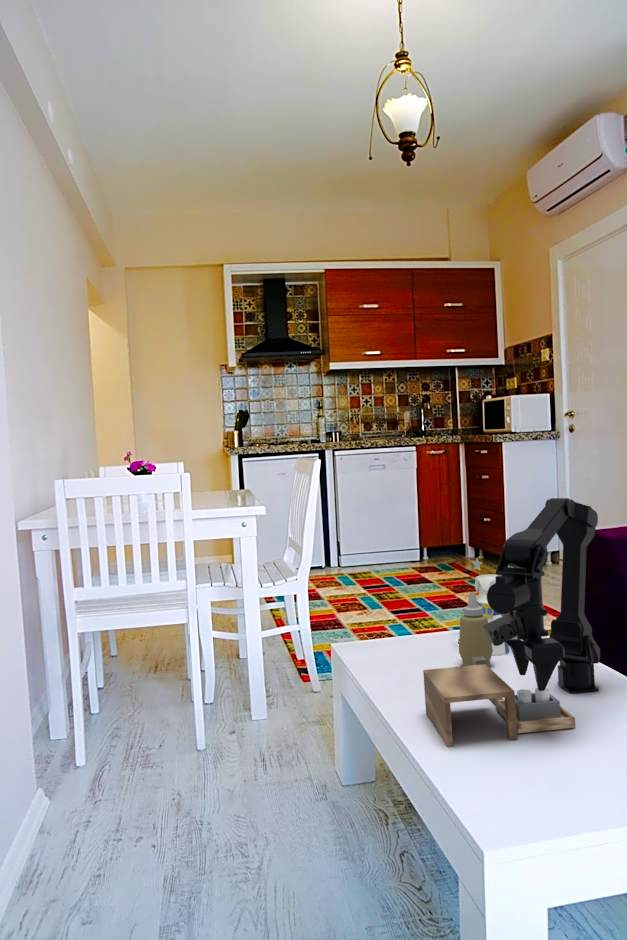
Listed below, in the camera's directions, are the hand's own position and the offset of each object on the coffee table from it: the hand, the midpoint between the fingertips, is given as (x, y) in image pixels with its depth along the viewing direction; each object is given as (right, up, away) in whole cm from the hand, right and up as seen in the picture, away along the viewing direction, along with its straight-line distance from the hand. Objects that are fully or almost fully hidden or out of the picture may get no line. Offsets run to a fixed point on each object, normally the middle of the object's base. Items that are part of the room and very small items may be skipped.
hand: (531, 682), depth 133 cm
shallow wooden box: (0, -7, +8) cm, 10 cm away
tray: (+1, -6, 0) cm, 6 cm away
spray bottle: (+5, -6, +45) cm, 45 cm away
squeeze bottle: (-3, -7, +34) cm, 35 cm away
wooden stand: (-12, -8, -1) cm, 15 cm away
